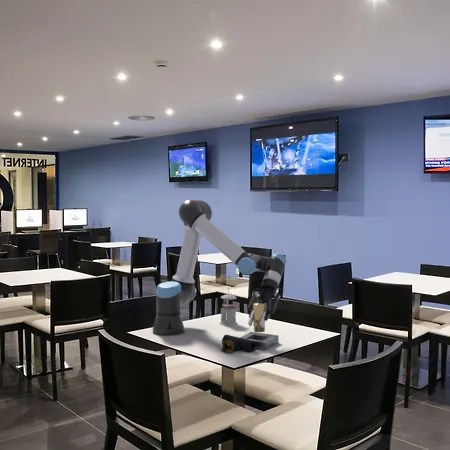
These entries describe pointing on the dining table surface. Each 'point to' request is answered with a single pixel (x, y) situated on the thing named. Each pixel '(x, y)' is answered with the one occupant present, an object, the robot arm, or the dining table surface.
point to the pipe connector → (237, 344)
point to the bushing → (258, 316)
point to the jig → (262, 340)
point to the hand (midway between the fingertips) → (255, 325)
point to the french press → (228, 311)
